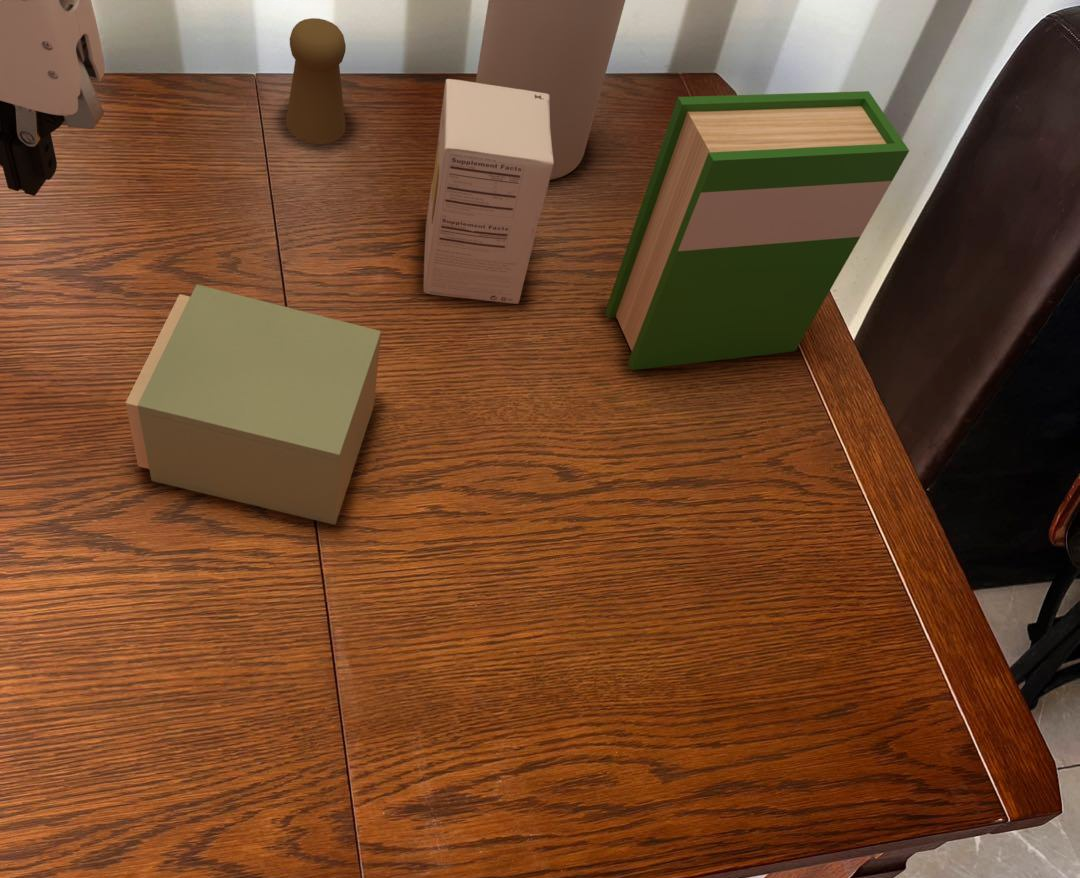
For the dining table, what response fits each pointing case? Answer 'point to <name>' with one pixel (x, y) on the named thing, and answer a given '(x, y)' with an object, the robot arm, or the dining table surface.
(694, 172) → the hardback book
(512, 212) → the supplement box
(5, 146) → the robot arm
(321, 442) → the cabinet
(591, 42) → the cylinder vase
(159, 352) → the drawer
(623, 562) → the dining table surface
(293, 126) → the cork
